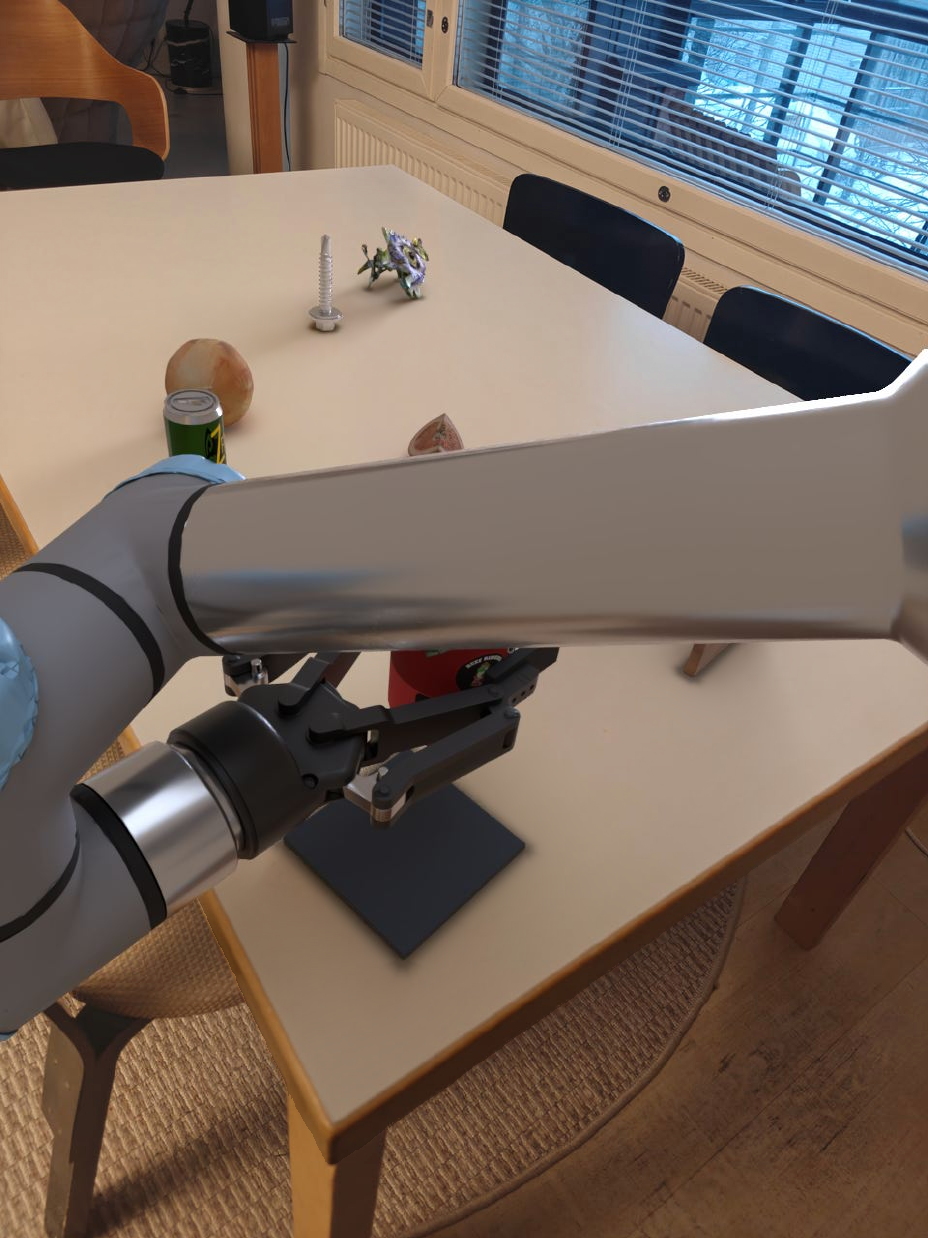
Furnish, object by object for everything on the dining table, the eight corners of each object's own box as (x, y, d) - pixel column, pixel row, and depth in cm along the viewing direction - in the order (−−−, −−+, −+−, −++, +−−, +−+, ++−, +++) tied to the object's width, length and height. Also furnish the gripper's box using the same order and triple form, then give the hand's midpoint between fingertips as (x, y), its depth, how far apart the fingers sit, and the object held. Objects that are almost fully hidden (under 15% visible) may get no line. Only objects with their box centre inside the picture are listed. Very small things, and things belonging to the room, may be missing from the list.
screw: (304, 321, 126) (336, 319, 128) (314, 335, 123) (346, 333, 124) (303, 228, 117) (337, 227, 119) (313, 240, 114) (348, 239, 116)
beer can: (174, 524, 85) (160, 415, 78) (176, 494, 89) (163, 387, 82) (230, 522, 87) (221, 414, 79) (230, 493, 91) (221, 387, 83)
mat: (524, 848, 61) (526, 843, 61) (404, 960, 54) (404, 955, 54) (406, 751, 67) (407, 746, 66) (283, 841, 59) (282, 836, 59)
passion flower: (412, 329, 141) (426, 286, 130) (347, 310, 139) (355, 265, 128) (424, 271, 144) (439, 224, 133) (361, 251, 142) (370, 202, 131)
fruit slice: (461, 491, 96) (466, 451, 93) (401, 482, 96) (404, 443, 92) (467, 453, 102) (472, 415, 99) (411, 445, 102) (414, 407, 99)
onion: (173, 447, 96) (163, 362, 90) (166, 405, 103) (156, 324, 97) (261, 441, 99) (257, 359, 93) (248, 400, 106) (244, 321, 100)
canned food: (412, 767, 53) (426, 634, 46) (369, 679, 58) (375, 547, 51) (522, 737, 56) (552, 607, 48) (472, 655, 61) (492, 527, 54)
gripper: (102, 732, 49) (391, 576, 63) (340, 987, 40) (620, 737, 53) (77, 636, 44) (397, 489, 58) (342, 899, 35) (650, 649, 48)
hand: (503, 608), depth 56 cm, fingers closed on canned food, 8 cm apart
